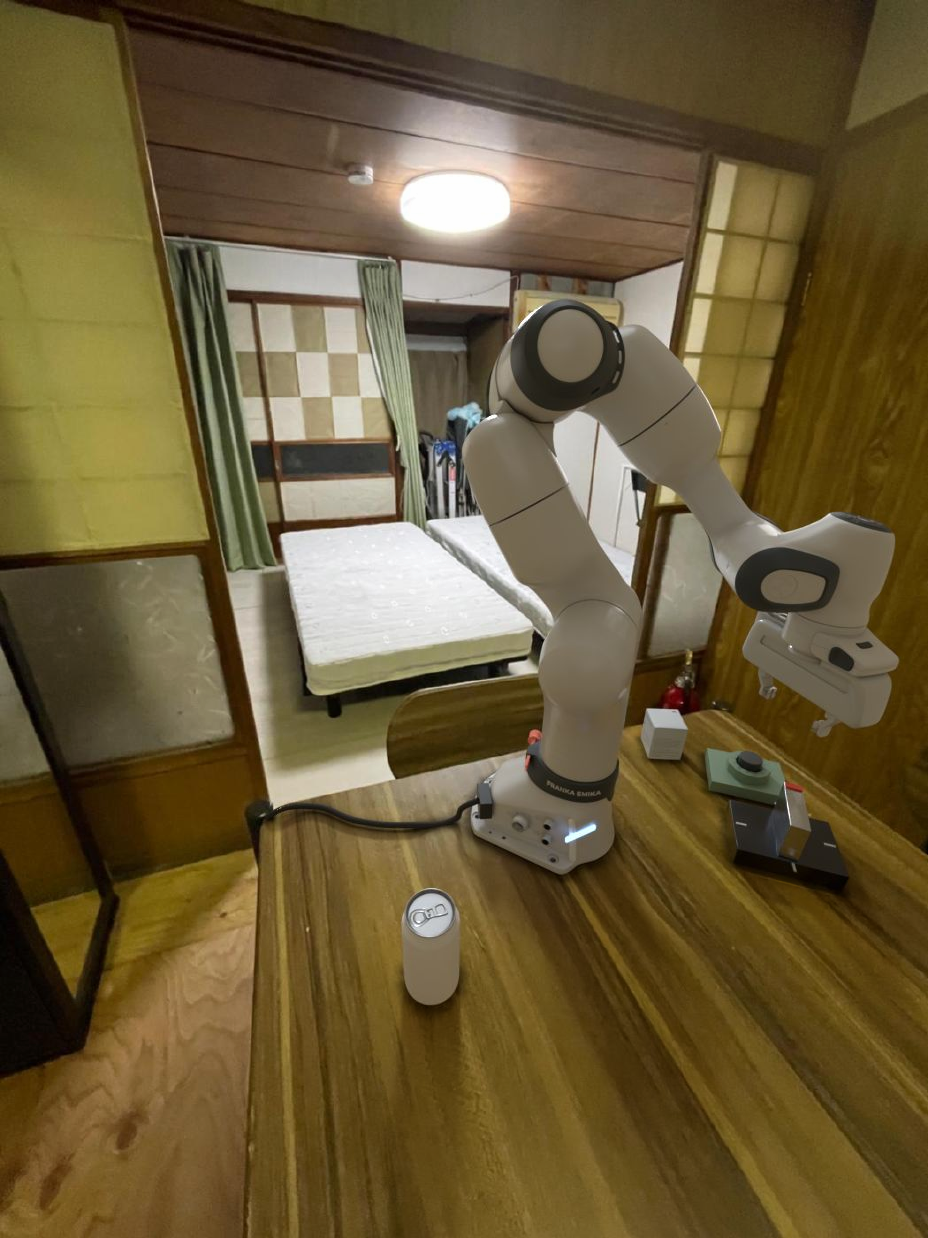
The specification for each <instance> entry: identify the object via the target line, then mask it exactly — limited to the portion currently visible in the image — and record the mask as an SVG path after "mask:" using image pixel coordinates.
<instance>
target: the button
mask: <svg viewBox="0 0 928 1238" xmlns="http://www.w3.org/2000/svg"><path fill="white" fill-rule="evenodd" d="M741 751H742V752H741V753H740V755H739V758H738V761H737V763H738V765H739V766H740V767H741V768H743V769H745V770H747V771H750V772H759V771H760V769H761V766H762V763H763V759H764V758H763V757H761V755H760V754H758V753H757V752H754V751H750V750H741ZM762 758H763V759H762Z"/></svg>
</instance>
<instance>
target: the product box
mask: <svg viewBox="0 0 928 1238" xmlns="http://www.w3.org/2000/svg"><path fill="white" fill-rule="evenodd" d="M645 709H646V710H645V715H644V718H643V724H642V728H641V733H640V740H641V743H642V745H643V747H644V750H645V754H646V757H647V758H648V759H649V760H651V759H653V760H673V761H680V760H681V758H682V755H683V750H684V747H685V743H686V739H687V736H688V731H689V728H688V726H687V725H686V723H685V720H684V718H683V716H682V714H681V712H680V711H679V709H671V708H670V709H669V708H647V707H646V708H645Z"/></svg>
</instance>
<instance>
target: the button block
mask: <svg viewBox="0 0 928 1238" xmlns="http://www.w3.org/2000/svg"><path fill="white" fill-rule="evenodd" d="M705 751H706V752H705V754H704V759H705V760H704V762H705V769H706V777H707V784H708V791H711V792H715V793H719V794H723V795H728V796H733V797H736V798H741V799H746V800H749V801H750V800H751V801H754V802H760V803H763V804H768V805H772V806H775V802H776V801H777V798H778V796H779V793H780V791H781V788H782V785H783V783H784V782H787V781H786V778H785V775H784V773H783V768H782V766H781V763H780V762H778V761H773V760H768V759H764V758H763V757H761V758H762V759H763V763H762V766H761V769H760V771H759V772H750V771H747V770H745V769H743V768H741V767H740V766H739V765H738V763H737V761H738V758H739V755H740V753H741V752H742V751H743V750H736V751H732V752H729V751H725V750H721V749H715V748H709V747H707V748H706V750H705Z"/></svg>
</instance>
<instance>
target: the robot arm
mask: <svg viewBox="0 0 928 1238" xmlns="http://www.w3.org/2000/svg"><path fill="white" fill-rule="evenodd" d="M485 392H486V393H485V401H486V403H485V406H486V407H485V418H484V419H482V420H481V421H480V422H479V423H478V424H476V425H475V426H474V427H473V428H472V429H471V430H470V431H469V433H468V434H467V436H466V438H465V440H464V442H463V443H462V448H461V459H462V463H463V468H464V469H465V470H464V471H465V474H466V477H467V480H468V483H469V487H470V489H471V492H472V494H473V496H474V499H475V502H476V504H477V506H478V509H479V511H480V513H481V515H482V517H483V519H484V521H485V524H486V526H487V527H488V529H489V531H490V533H491V536H492V537H493V539H494V541H495V544H497V547H498V548H499V550H500V552H501V554H502V556H503V558H504V561H505V562H506V564H507V566H508V568H509V570H510V573H512V576H513V577H514V578H515V580H516V581H517V582H518V583H519V584H521V585H523V586H524V587H525V586H526V587H527V588H529V589H530V590H531V591H532V592H534V594H535V595H536V596H537V597H538V598H539V599H540V601H541V602H542V603H543V604H544V605H545V606H546V609H548V611H549V613H550V615H551V618H552V624H553V625H552V626H551V629H550V630H549V632H548V634H547V635H546V637H545V639H544V641H543V643H542V646H541V650H540V654H539V661H538V669H537V680H538V684H539V687H540V689H541V691H542V697H543V718H542V727H541V728H542V729H541V731H540V730H539V729H532V730H530V732H529V735H528V738H527V743H528V744H529V745H528V746H527V748H526V752H525V754H524V755H521V756H517V757H513V758H509V759H507V760H505V761H504V762H502V764H500V766H499V767H498V768H497V770H496V772H495V773H493V774H491V775H490V776H489V777H487V778H486V779H485V781H483V782H478V783H476V794H475V797H474V798H472V799H470V800H467V801H465V802H463V803H461V805H459V806H458V807H457V809H456V813H455V815H454V816H451V817H449V818H446V819H442V820H439V821H383V820H381V821H380V820H373V819H368V818H362V817H357V816H353V815H350V814H347V813H344V812H343V811H340V810H338V809H336V808H334V807H332V806H329V805H327V804H320V803H313V802H296V804H294V803H287V804H284V805H280V806H278V807H276V808H274V809H272V810H271V811H270V812H268V813H267V814H266V815H265V816H264V820H266V821H268V820H269V821H270V820H271V819H273V818H275V816H277V815H279V814H281V813H285V812H287V811H295V810H314V811H315V810H317V811H322V812H325V813H327V814H330V815H332V816H334V817H336V818H338V819H340V820H343V821H345V822H348V823H351V824H355V825H360V826H364V827H365V826H366V827H371V828H372V827H373V828H380V829H381V828H382V829H433V828H437V827H438V828H439V827H444V826H450V825H453V824H455V823H457V822H459V821H460V820H461V819H462V817H463V813H464V812H465V810H468V809H470V808H471V812H470V826H471V830H472V833H473V834H474V835H475V836H477V837H479V838H481V839H483V840H485V841H487V842H489V843H491V844H492V845H496V846H497V847H500V848H502V849H504V850H506V851H508V852H510V853H512V854H514V855H517V856H519V857H520V858H523V859H525V860H526V861H529V862H531V863H534V864H535V865H538V866H540V867H542V868H544V869H546V870H548V871H551V872H552V873H554V874H557V875H560V876H561V875H565V874H568V873H569V872H571V871H572V870H574V869H575V868H576V867H577V866H579V865H581V864H585V863H586V864H587V863H590V862H593V861H597V860H598V859H600V858H601V857H603V856H605V855H606V854H607V853H608V852H609V850H610V849H611V848H612V846H613V844H614V841H615V835H616V832H615V826H614V819H613V798H614V796H615V794H616V791H617V786H618V782H619V777H620V759H619V754H620V749H621V744H622V738H623V732H624V727H625V723H626V722H625V721H626V716H627V709H628V704H629V697H630V692H631V687H632V682H633V676H634V672H635V671H634V670H635V668H636V667H635V666H636V661H637V657H638V653H639V648H640V641H641V637H642V632H643V629H644V613H643V607H642V605H641V601H640V599H639V597H638V595H637V593H636V591H635V590H634V588H632V586H630V585H629V584H628V583H627V582H626V581H625V579H624V577H623V575H622V574H621V573H620V571H619V570H618V569H617V567H616V566H615V564H614V563H613V561H612V560H611V559H610V557H609V556H608V554H607V553H606V551H605V550H604V549H603V547H602V546H601V544H600V543H599V541H598V539H597V537H596V535H595V533H594V531H593V529H592V527H591V525H590V523H589V521H588V519H587V517H586V514H585V513H584V510H583V508H582V506H581V505H580V504H581V503H580V502H579V500H578V498H577V496H576V494H575V491H574V490H573V487H572V485H571V483H570V481H569V480H568V479H569V478H568V477H567V475H566V472H565V471H564V469H563V467H562V466H561V463H560V462H559V460H558V459H557V457H558V456H557V452H556V449H555V442H554V431H555V427H556V425H557V424H559V423H562V422H563V421H564V420H566V419H568V418H569V417H571V416H572V415H573V414H574V413H575V412H580V413H583V414H585V415H587V416H590V417H591V418H592V419H594V420H595V421H596V422H598V424H599V425H601V426H602V428H603V429H604V430H605V431H606V433H607V434H608V437H610V439H611V441H613V443H614V444H615V446H616V448H618V450H619V451H620V452H621V453H622V455H623V456H624V457H625V458H626V459H627V461H628V462H629V463H630V464H631V465H632V466H633V467H634V468H635V469H636V470H637V471H638V472H639V473H640V474H642V475H643V476H644V477H645V478H646V479H647V480H649V481H650V482H651V483H652V484H655V485H658V486H663V487H665V488H668V489H669V490H671V491H673V492H674V493H675V494H676V495H677V496H678V497H679V498H680V499H681V500H682V502H683V503H684V504H685V506H686V507H687V508H688V510H689V511H690V512H691V513H692V515H693V516H694V518H695V519H696V520H697V522H698V524H700V526H701V527H702V529H703V530H704V532H705V533H706V535H707V539H708V540H707V541H708V546H709V547H708V548H709V553H710V554H709V555H710V558H711V561H712V564H713V566H714V568H715V569H716V570H717V571H718V572H719V573H720V575H721V576H723V578H724V580H725V581H726V582H727V583H728V585H729V586H730V588H731V589H732V591H733V592H734V594H735V596H737V597H738V599H739V600H740V601H741V602H742V603H743V604H744V605H745V606H746V607H748V608H749V609H751V610H754V611H757V613H756V617H755V620H754V623H753V625H752V626H751V628H750V630H749V632H748V634H747V635H746V638H745V641H744V642H743V643H744V644H743V645H742V650H741V651H742V656H743V657H744V659H745V660H747V661H748V662H750V663H751V664H752V665H755V666H756V667H757V668H758V671H757V676H758V680H759V685H760V687H759V691H758V695H760V696H761V697H762V698H764V699H765V700H769V699H774V698H775V697H776V694H777V691H778V688H777V687H776V686H775V685H774V679H776V680H777V681H779V682H780V683H782V684H783V685H785V686H786V687H788V688H790V689H791V690H793V691H794V692H795V693H797V694H799V695H800V696H802V697H803V698H805V699H806V700H808V701H809V702H811V703H812V704H813V705H816V706H817V707H819V708H820V709H821V710H823V711H824V712H825V713H824V718H825V719H826V720H825V719H819V720H815V721H813V722H812V725H811V726H812V727H810V732H812V733H813V734H815V735H816V736H818V737H819V738H824V737H827V736H829V735H830V732H831V730H832V728H833V727H835V726H836V725H838V724H840V723H843V724H845V725H846V726H848V727H849V728H851V729H862V728H867V727H871V726H874V725H876V724H878V723H879V722H880V721H881V719H882V717H883V715H884V713H885V710H886V707H887V705H888V702H889V700H890V699H889V698H890V696H891V692H892V686H893V685H892V679H891V677H890V675H889V674H888V672H892V671H894V670H896V669H897V668H898V666H899V663H900V658H899V656H898V655H897V654H896V653H895V652H893V650H891V649H890V648H889V647H888V646H887V645H885V644H884V643H883V641H881V640H880V639H879V638H878V637H877V636H876V635H875V634H874V633H873V632H872V631H871V630H870V629H869V628H868V627H867V626H868V623H869V620H870V609H871V606H872V604H873V602H874V601H875V599H876V598H878V596H879V595H880V593H881V592H882V589H883V587H884V584H885V583H886V582H885V581H886V580H887V576H888V574H889V571H890V568H891V564H892V561H893V557H894V553H895V547H896V536H895V533H894V532H893V531H892V529H890V528H889V527H888V526H886V525H885V524H884V523H881V522H879V521H877V520H875V519H872V518H869V517H867V516H863V515H860V514H855V513H852V512H846V511H832V512H828V513H827V514H826V515H825V516H823V518H821V519H818V520H817V521H814V522H812V523H810V524H808V525H805V526H803V527H799V528H797V529H793V530H790V531H785V532H784V531H783V530H782V528H781V527H780V526H779V525H778V524H777V523H775V521H773V520H771V519H770V518H769V517H766V516H764V515H762V514H760V513H757V512H756V511H753V510H752V509H751V508H750V507H748V505H747V504H746V503H745V501H744V500H743V498H742V497H741V496H740V493H739V492H738V491H737V490H736V488H735V487H734V485H733V484H732V482H731V481H730V479H729V478H728V477H727V475H726V474H725V472H724V470H723V468H722V466H721V463H720V461H719V458H718V456H719V455H718V451H719V447H720V445H721V441H722V428H721V426H720V423H719V421H718V419H717V416H716V413H715V412H714V410H713V408H712V405H711V404H710V402H709V400H708V398H707V396H706V395H705V392H703V390H702V388H701V386H700V385H699V384H698V383H697V381H696V380H695V379H694V377H693V376H692V375H691V373H690V372H689V370H688V369H687V368H686V367H685V365H684V364H683V362H681V360H680V359H679V358H678V357H677V356H676V355H675V354H674V353H673V351H671V350H670V348H669V347H668V346H666V345H665V343H664V342H663V341H661V339H659V337H657V335H655V334H654V333H653V332H651V330H650V329H648V328H647V327H645V326H643V325H641V324H635V323H634V324H633V323H631V324H625V325H622V326H619V327H618V326H617V325H616V323H613V322H612V321H609V320H607V319H606V318H605V317H604V316H602V314H601V313H599V311H597V310H596V309H594V308H593V307H592V306H590V305H588V304H586V303H584V302H582V301H578V300H575V299H569V298H559V299H555V300H552V301H549V302H546V303H545V304H543V305H541V306H539V307H537V308H536V309H535V310H533V311H532V312H531V313H530V314H528V315H527V316H526V317H525V318H524V319H523V320H522V321H521V323H520V324H519V325H518V327H517V328H516V331H515V333H514V334H513V335H512V336H511V337H510V338H509V339H508V340H507V341H506V342H505V343H504V345H503V347H502V348H501V349H500V352H499V354H498V355H497V357H496V360H495V363H494V365H493V367H492V369H491V370H490V373H489V375H488V378H487V384H486V391H485ZM286 805H289V806H286ZM283 806H284V807H283ZM280 807H282V808H281V809H279V808H280ZM277 809H278V810H277Z"/></svg>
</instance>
